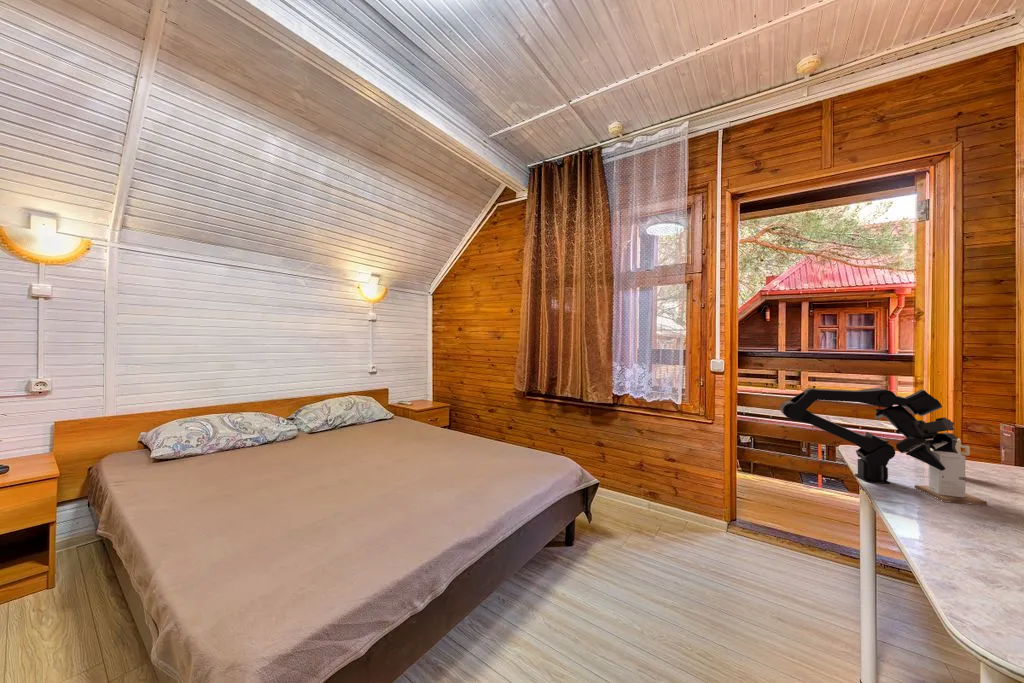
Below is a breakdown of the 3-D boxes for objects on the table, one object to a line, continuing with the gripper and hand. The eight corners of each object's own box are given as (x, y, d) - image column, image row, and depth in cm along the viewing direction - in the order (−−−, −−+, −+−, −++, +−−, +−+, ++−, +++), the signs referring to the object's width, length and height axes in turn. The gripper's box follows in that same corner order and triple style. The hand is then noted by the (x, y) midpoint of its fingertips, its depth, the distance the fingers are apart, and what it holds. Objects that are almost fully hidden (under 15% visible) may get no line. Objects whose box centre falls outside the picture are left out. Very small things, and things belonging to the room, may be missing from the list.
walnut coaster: (942, 501, 107) (942, 498, 107) (914, 488, 117) (914, 485, 117) (986, 505, 105) (986, 501, 105) (954, 491, 114) (954, 488, 114)
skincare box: (939, 495, 109) (939, 454, 109) (927, 489, 113) (927, 450, 113) (967, 498, 107) (967, 456, 107) (954, 492, 111) (954, 451, 111)
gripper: (909, 409, 111) (961, 457, 101) (948, 406, 116) (1003, 452, 106) (877, 430, 119) (923, 476, 108) (915, 426, 124) (963, 470, 113)
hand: (953, 468), depth 109 cm, fingers open, 9 cm apart
